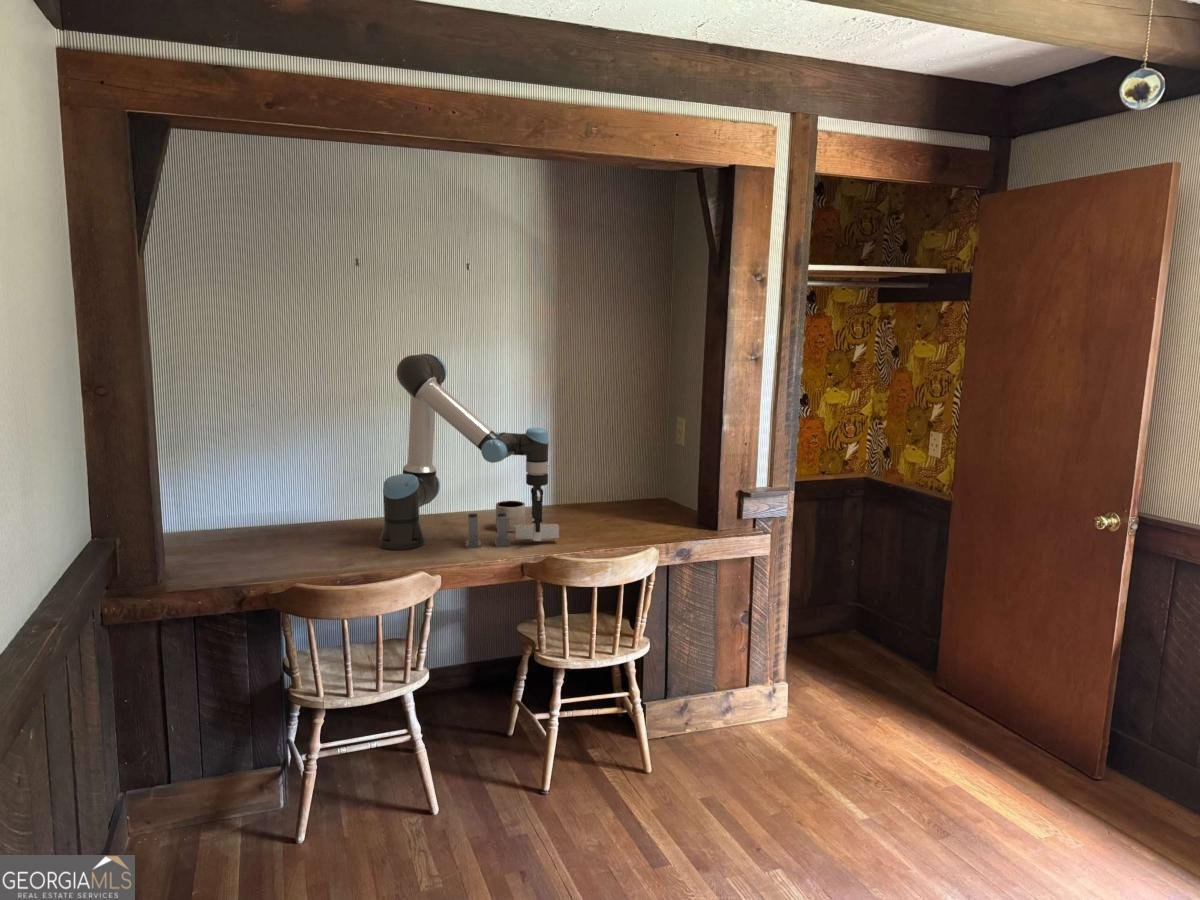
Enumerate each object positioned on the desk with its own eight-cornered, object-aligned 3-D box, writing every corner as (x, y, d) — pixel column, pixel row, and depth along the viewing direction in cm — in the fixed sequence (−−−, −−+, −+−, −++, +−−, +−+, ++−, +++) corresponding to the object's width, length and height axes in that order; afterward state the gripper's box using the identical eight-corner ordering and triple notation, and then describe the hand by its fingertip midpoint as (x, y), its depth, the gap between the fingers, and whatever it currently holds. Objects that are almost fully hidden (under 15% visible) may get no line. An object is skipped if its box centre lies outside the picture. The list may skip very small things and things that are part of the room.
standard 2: (495, 547, 271) (495, 517, 270) (494, 541, 278) (494, 512, 276) (510, 546, 272) (510, 517, 271) (509, 541, 279) (508, 512, 277)
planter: (527, 525, 300) (527, 501, 299) (521, 533, 289) (521, 507, 288) (499, 524, 301) (499, 500, 300) (492, 532, 290) (492, 506, 289)
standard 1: (465, 548, 270) (465, 518, 268) (465, 542, 276) (465, 513, 275) (480, 547, 271) (480, 518, 269) (480, 542, 277) (480, 513, 275)
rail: (515, 539, 274) (515, 527, 273) (514, 536, 278) (514, 524, 277) (558, 537, 276) (559, 526, 276) (557, 534, 280) (557, 523, 279)
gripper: (550, 477, 265) (550, 545, 269) (545, 468, 282) (544, 531, 286) (528, 478, 264) (528, 546, 268) (524, 468, 281) (524, 532, 285)
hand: (536, 538), depth 277 cm, fingers closed on rail, 4 cm apart
